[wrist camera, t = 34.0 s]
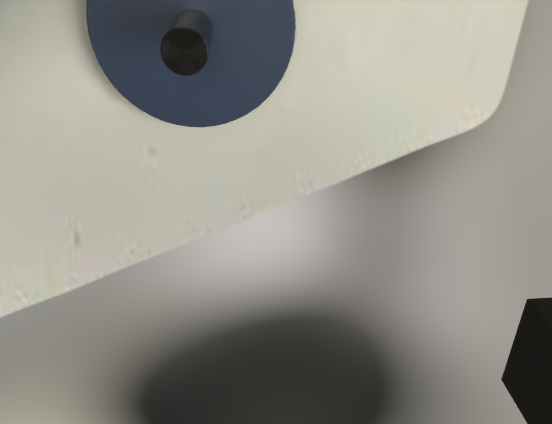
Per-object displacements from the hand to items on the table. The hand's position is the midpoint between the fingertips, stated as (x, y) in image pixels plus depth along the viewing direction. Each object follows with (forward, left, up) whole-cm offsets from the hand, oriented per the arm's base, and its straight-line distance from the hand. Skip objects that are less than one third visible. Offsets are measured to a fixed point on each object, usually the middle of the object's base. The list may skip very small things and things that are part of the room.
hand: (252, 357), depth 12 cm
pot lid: (-4, +1, -32) cm, 32 cm away
